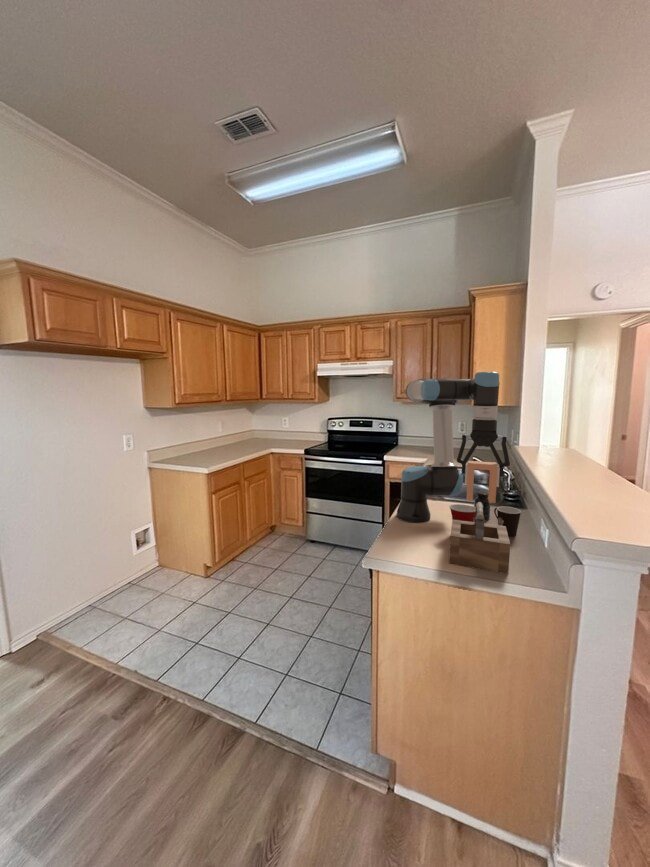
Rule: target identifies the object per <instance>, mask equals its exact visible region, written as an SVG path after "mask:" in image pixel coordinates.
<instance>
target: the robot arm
mask: <svg viewBox="0 0 650 867" xmlns="http://www.w3.org/2000/svg"><path fill="white" fill-rule="evenodd" d="M500 383H501V382H500V374H499V372H498V371H479V372H476V373H474V377H473V378H420V379H414V380H413V381H410V382H409V383H408V384H407V386H406V387H405V396H406V398H407V399H408V400H409V401H411V402H412V403H416V404H424V405H427V404H428V409H429V410H431V412H432V425H433V426H432V432H433V434H432V435H433V460H434V461H433V463H432V464H431V466H430V469H429V468H428V467H427V466H423V465H421V466H420V465H417V466H416V465H415V466H409V467H406V468H404V469H403V470H402V472H401V479H400V481H401V482H400V483H401V484H400V485H401V486H400V490H401V491H400V502H399V504H398V507H397V510H396V518H397V519H399V520H401V521H404V522H405V523H414V524H421V523H426V522H429V521H430V520H431V511H430V508H429V504H428V496H431V497H432V496H437V497H438V496H441V497H442V496H445V497H450V496H458V495H459V494H460V492H461V491H462V488H463V483H464V484H465V485H467V476H468V461H470V460H469V459H470V457H472V454H473V453H474V452H475V449H477V447H486V448H490V450H491V451H492V453H493V455H494V458H495V460H496V461H497V462H496V463H497V465H498V467H497V484H496V488H499V487H500V477H503V476H504V468H505V467H509V466H510V465H511V463H510V458H509V453H508V448H507V444H506V443H507V441H508V440H507V439H508V438H507V436H506V435H499V434H498V433H497V430H498V429H497V426H498V421H497V418H498V411H499V409H498V408H499V392H500V386H501V385H500ZM460 401H473V404H472V418H473V419H472V422H471V424H472V426H471V432H470V433H468V434H465V433H462V436H461V440H462V441H461V444H460V447H459V451H458V454H457V455H458V456H457V457H456V458H457V459H456V463H459V464H461V470H460V469H458V468H459V467H458V465H457V464H456V463H455V460H454V459H455V458H454V429H453V410H454V409H455V408H456V405H457V404H458V403H459V402H460ZM470 438H471V440H472V441H473V443H472V445H471V447H470V448H469V450H468V451H467V453H466V455H465V456H464V458H462V457H463V454H464V451H465V447H466V443H467V441H469V439H470ZM497 439H498V441H499V442H500V443H501V448H502V454H503V459H504V461H502V459H501V457H500V455H499V453H498V450H497V449H496V447H495V444H494V443H495V442H496V441H497ZM464 477H465V478H464Z"/></svg>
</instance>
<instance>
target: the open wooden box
mask: <svg viewBox="0 0 650 867" xmlns="http://www.w3.org/2000/svg"><path fill="white" fill-rule="evenodd" d="M450 528H451V529H450V534H449V537H450V538H449V556H448V559H449V560H448V564H449V565H454V566H461V567H466V568H472V569H476V568H477V569H478V570H484V571H489V572H493V573H494V572H495V573H500V572H502V573H501V574H506V573H508V574H509V571H510V570H509V569H510V554H511V553H510V552H511V541H510V537H508V533H507V529H506V526H500V525H498V524H491V523H485V520H484V516H483V505H482V503H481V502H478V503H477V504H476V511H475V517H474V522H468V521H460V520H452V522H451V527H450ZM477 569H476V570H477Z"/></svg>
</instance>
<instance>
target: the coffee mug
mask: <svg viewBox="0 0 650 867" xmlns="http://www.w3.org/2000/svg"><path fill="white" fill-rule="evenodd" d="M493 513H494V515H495V518H496V519H497V525H500V526H506V529H507V533H508V537H509V538H510V537H516V536H517V532H518V527H519V524H520V519H521V514H522V512H521V509H518V508H515V507H512V506H498V507H495V508H494V510H493Z"/></svg>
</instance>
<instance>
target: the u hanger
mask: <svg viewBox="0 0 650 867" xmlns="http://www.w3.org/2000/svg"><path fill="white" fill-rule="evenodd" d="M467 464H468V476H467V484H466V501H472V502H474V484H475V483H474V481H475V480H474V479H475V478H474V477H475V470H481V471H482V470H483V471H489V480H488V493H489V495H488V500H489V503H490V504H496V499H497V487H496V484H497V467H498V466H499V464H498V462H494V461H493V462H492V461H480V460H479V461H477V460H468V461H467Z"/></svg>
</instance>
